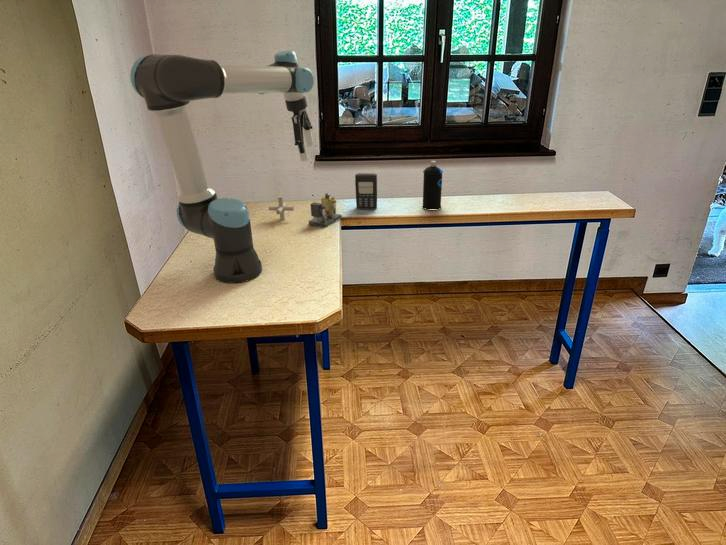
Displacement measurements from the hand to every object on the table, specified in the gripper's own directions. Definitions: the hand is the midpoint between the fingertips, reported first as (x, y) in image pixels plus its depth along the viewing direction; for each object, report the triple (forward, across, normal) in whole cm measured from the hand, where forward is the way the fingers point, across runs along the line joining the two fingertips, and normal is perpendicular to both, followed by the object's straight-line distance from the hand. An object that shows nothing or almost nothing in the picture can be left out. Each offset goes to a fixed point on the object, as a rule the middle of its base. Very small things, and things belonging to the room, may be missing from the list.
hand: (308, 153), depth 184 cm
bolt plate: (+27, -7, -2) cm, 28 cm away
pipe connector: (+25, -6, +16) cm, 30 cm away
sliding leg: (+26, -3, -4) cm, 26 cm away
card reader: (+32, +9, -18) cm, 37 cm away
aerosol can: (+35, +10, -46) cm, 58 cm away
